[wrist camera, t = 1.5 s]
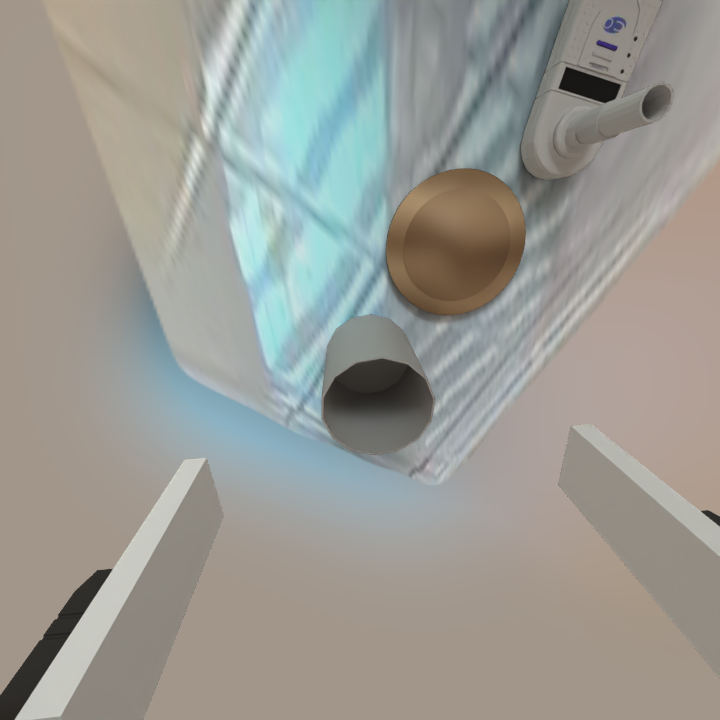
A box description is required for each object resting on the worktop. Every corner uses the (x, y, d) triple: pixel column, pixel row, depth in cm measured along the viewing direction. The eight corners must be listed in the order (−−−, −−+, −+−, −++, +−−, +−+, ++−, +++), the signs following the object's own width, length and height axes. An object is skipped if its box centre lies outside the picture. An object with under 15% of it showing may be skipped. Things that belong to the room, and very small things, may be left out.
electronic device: (880, -242, 13) (671, 171, 19) (663, -56, 22) (565, 187, 28) (771, -299, 13) (588, 147, 18) (593, -83, 22) (507, 171, 27)
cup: (421, 327, 32) (452, 373, 23) (395, 397, 36) (413, 462, 27) (337, 305, 31) (335, 345, 22) (318, 380, 34) (309, 442, 25)
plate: (383, 175, 27) (384, 174, 26) (530, 163, 27) (536, 162, 26) (388, 317, 32) (389, 321, 31) (512, 307, 32) (517, 310, 31)
